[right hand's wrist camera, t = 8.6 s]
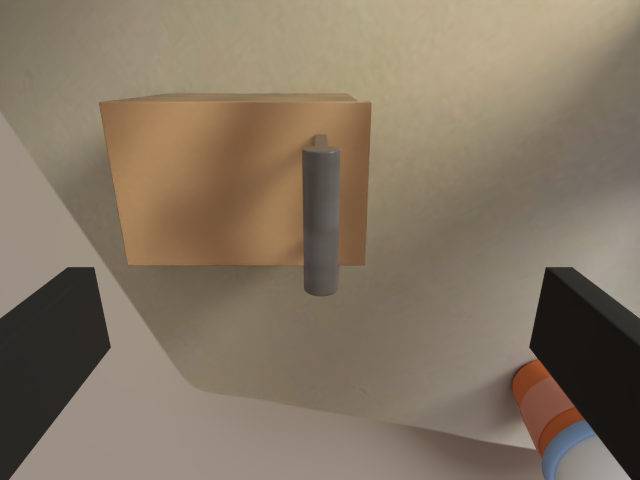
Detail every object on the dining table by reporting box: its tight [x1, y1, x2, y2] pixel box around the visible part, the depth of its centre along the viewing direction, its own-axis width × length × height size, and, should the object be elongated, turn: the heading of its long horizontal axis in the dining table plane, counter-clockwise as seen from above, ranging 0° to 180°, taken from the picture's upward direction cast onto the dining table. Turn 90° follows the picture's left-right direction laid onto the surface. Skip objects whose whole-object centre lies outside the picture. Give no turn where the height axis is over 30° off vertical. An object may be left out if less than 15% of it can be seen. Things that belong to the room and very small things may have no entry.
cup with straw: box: [512, 360, 631, 480], centre depth 36 cm, size 9×9×18 cm
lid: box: [99, 101, 371, 296], centre depth 23 cm, size 15×10×8 cm, turn 90°
